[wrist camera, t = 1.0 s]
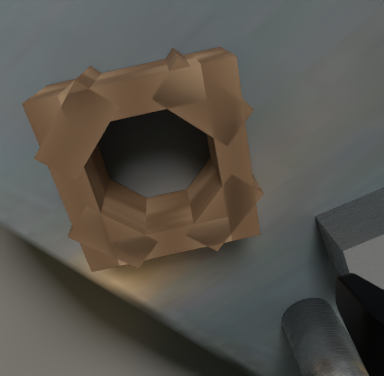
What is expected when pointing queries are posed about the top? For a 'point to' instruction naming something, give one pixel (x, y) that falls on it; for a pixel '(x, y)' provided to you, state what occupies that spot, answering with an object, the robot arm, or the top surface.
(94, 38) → the top surface
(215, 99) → the socket block
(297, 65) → the top surface
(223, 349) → the top surface
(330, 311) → the grey cylindrical bottle
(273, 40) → the top surface
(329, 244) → the grey rectangular block
